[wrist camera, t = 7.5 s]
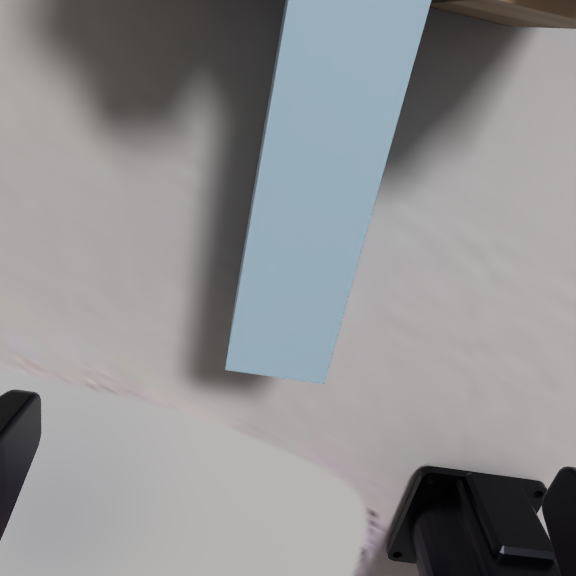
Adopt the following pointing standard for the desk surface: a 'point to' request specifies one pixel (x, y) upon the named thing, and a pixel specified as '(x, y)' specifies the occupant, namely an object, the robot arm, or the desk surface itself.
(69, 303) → the desk surface
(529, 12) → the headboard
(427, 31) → the desk surface
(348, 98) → the light blue rectangular block
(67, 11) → the desk surface
